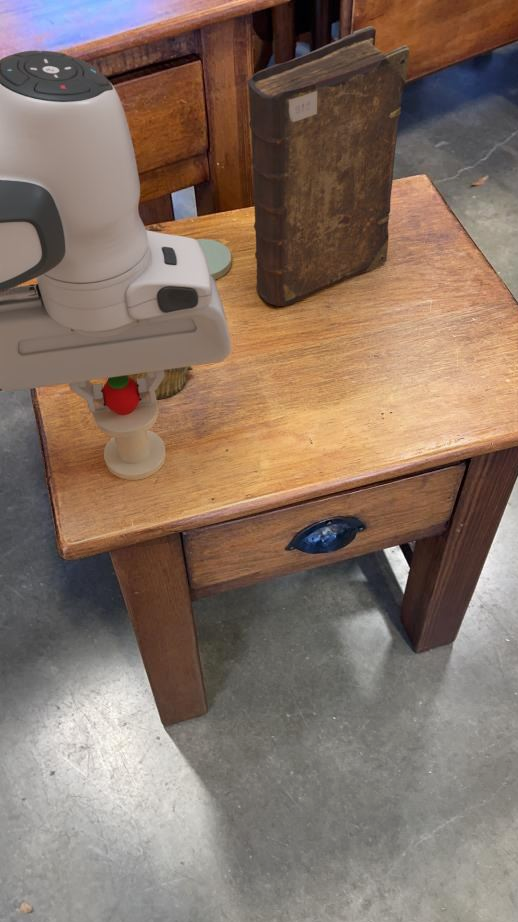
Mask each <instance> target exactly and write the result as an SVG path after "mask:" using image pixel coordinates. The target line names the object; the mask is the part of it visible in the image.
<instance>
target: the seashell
mask: <svg viewBox="0 0 518 922" xmlns="http://www.w3.org/2000/svg"><path fill="white" fill-rule="evenodd" d="M188 371H193V367H192V366H187V367H181V368H174V369H167V370H164V373H165V377H164V378H163V380H162V381H161V383H160V385H159V386H158V388H157V389H156V390H155V394H156V399H157V400H164V399H165V398H169V397H172V396H173V395H176V394H178V393H179V392H180V393H181V391H182V388H183V387H184V384H185V382H186V380H187V372H188ZM147 373H148V372H146V373H139V374H132V375H127V376H128V377H130V378H132V379H133V380H134V381H135V382H136V383H137V379H139V378H145V377H146V375H147Z"/></svg>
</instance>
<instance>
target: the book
mask: <svg viewBox="0 0 518 922" xmlns="http://www.w3.org/2000/svg"><path fill="white" fill-rule="evenodd" d="M376 34H377V29H376V28H375V27H374V26H373V25H369V26H367V27H363V28H359V29H357V30H355V31H353V32H352V33H350V34H348V35H345V36H343V37H341V38H339V39H338V40H335V41H333V42H330V43H328V44H326V45H323V46H321V47H319V48H317V49H315V50H313V51H310V52H307V53H305V54H302V55H300V56H298V57H295V58H293V59H290V60H287V61H285V62H282V63H281V62H280V63H276V64H273V65H271V66H268V67H266V68H263V69H261V70H259V71H257V72H256V73H254V74H253V75H252V76H251V77H249V79H248V81H247V89H248V102H249V103H248V104H249V123H248V126H249V128H250V131H251V155H252V156H251V159H250V162H251V166H252V181H253V182H252V183H253V191H252V198H253V203H254V204H253V205H254V224H253V228H254V232H255V252H254V257H255V259H256V291H257V293H258V294H259V296H260V297H261V298H262V299H263V300H264V301H265V302H266V303H268V304H269V305H273V306H276V307H279V306H283V307H285V306H288V305H291V304H293V303H297V302H298V301H302V300H305V299H306V298H307V297H308V296H310V295H312V294H315V293H317V292H319V291H321V290H324V289H326V288H329V287H330V286H333V285H334V284H336V283H338V282H342V281H344V280H346V279H348V278H350V277H353V276H358V275H361V274H363V273H366V272H369V271H371V270H373V269H375V268H377V267H379V266H382V265H383V264H385V263H386V262H388V261H387V260H388V248H389V237H390V236H389V235H390V234H389V220H390V214H391V202H392V201H391V199H392V198H391V197H392V190H393V182H394V181H393V180H394V167H395V166H394V165H395V158H396V147H397V139H398V129H399V120H400V117H401V115H400V114H401V113H402V112H401V105H402V99H403V98H402V97H403V91H404V87H405V83H406V80H407V75H408V67H409V66H408V65H409V58H410V47H409V45H407V44H404V45H402V46H400V47H397V48H395V49H393V50H391V51H390V52H386V53H384V52H383V51H381V49H380V48H377V47H376Z"/></svg>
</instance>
